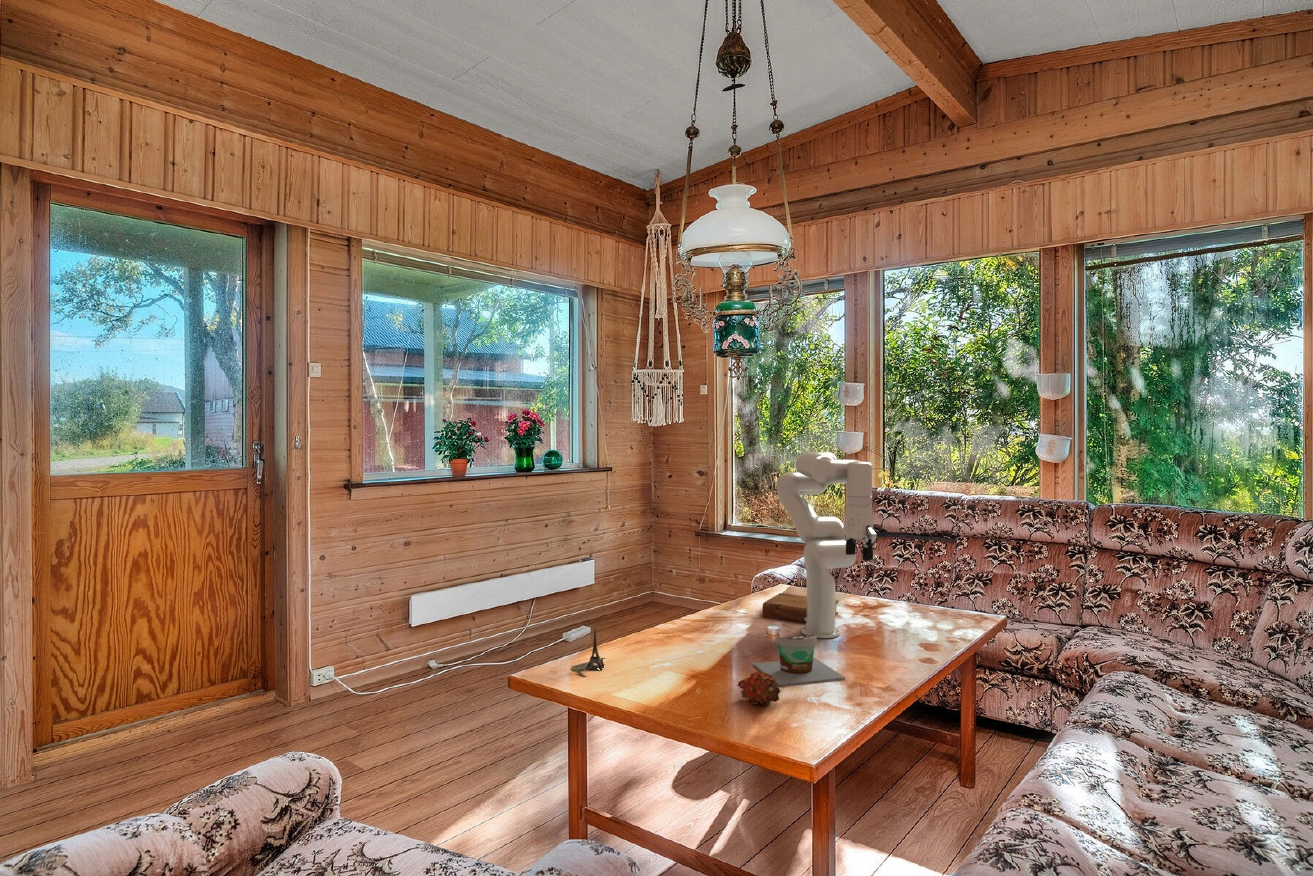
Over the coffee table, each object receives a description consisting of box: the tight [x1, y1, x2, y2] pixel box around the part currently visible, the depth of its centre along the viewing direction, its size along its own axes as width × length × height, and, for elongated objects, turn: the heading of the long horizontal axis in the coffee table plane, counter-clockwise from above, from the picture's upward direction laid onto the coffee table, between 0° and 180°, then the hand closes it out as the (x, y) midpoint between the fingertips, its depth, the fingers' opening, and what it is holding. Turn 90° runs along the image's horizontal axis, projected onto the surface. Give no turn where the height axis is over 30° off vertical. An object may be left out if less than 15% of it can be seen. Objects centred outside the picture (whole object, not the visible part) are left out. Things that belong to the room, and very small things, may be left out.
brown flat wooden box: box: [761, 592, 839, 624], centre depth 273 cm, size 23×19×6 cm
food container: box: [775, 633, 818, 674], centre depth 210 cm, size 12×6×10 cm, turn 106°
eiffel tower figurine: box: [569, 627, 607, 678], centre depth 215 cm, size 15×10×13 cm
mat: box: [752, 657, 846, 688], centre depth 211 cm, size 18×20×1 cm
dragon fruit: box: [737, 671, 782, 706], centre depth 188 cm, size 8×8×12 cm
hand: (859, 557), depth 226 cm, fingers open, 9 cm apart
